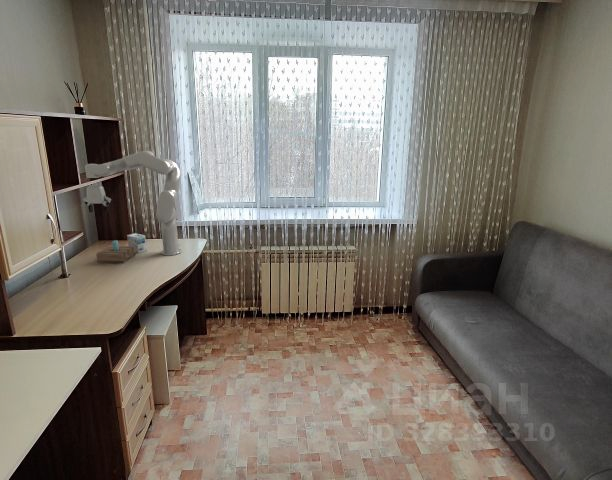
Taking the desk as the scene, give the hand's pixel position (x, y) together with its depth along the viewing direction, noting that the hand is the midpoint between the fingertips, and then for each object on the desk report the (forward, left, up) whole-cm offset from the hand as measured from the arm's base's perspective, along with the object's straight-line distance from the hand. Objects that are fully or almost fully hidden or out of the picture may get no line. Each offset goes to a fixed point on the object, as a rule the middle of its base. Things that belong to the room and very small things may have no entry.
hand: (98, 212), depth 247 cm
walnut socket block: (+6, +11, -28) cm, 31 cm away
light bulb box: (-11, +16, -29) cm, 35 cm away
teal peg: (+6, +11, -27) cm, 30 cm away
